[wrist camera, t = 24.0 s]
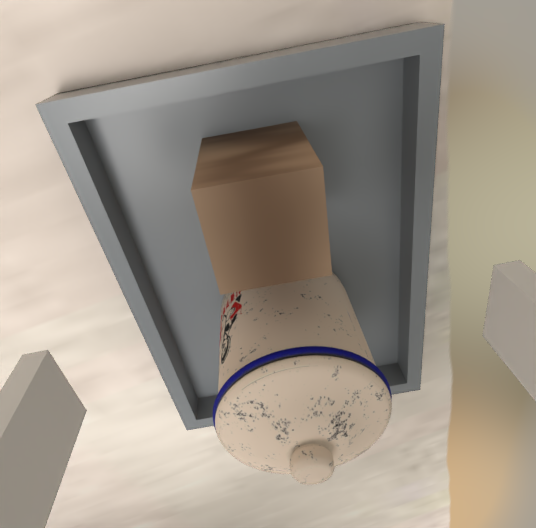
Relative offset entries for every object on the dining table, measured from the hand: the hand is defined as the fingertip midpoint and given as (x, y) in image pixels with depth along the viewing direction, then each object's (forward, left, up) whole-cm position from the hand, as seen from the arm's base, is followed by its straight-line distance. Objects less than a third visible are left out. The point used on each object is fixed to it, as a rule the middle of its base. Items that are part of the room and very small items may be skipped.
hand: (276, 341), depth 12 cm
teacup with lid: (-11, 0, -13) cm, 16 cm away
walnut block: (+1, 0, -12) cm, 12 cm away
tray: (-6, 0, -13) cm, 14 cm away
